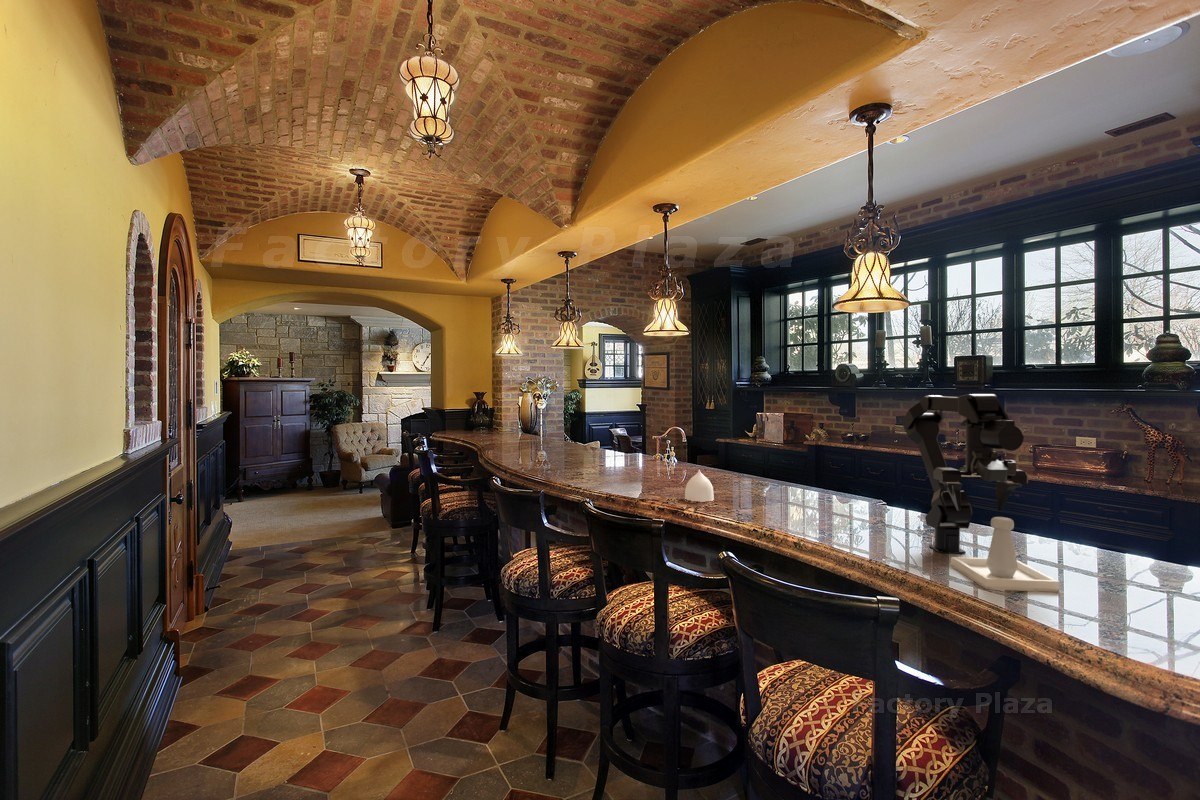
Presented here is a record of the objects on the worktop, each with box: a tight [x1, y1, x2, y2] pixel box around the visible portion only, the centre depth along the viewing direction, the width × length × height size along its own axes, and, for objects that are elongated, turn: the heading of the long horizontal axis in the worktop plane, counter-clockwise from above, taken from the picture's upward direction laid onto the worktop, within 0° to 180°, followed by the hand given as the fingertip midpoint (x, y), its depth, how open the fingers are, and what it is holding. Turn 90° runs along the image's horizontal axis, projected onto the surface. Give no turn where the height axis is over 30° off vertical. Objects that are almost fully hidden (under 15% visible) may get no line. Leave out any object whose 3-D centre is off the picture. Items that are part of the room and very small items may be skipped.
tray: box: [950, 556, 1060, 593], centre depth 130 cm, size 16×14×2 cm
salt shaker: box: [986, 516, 1018, 578], centre depth 130 cm, size 6×6×13 cm
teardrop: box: [684, 469, 715, 502], centre depth 221 cm, size 11×11×12 cm
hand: (979, 510), depth 140 cm, fingers open, 9 cm apart
